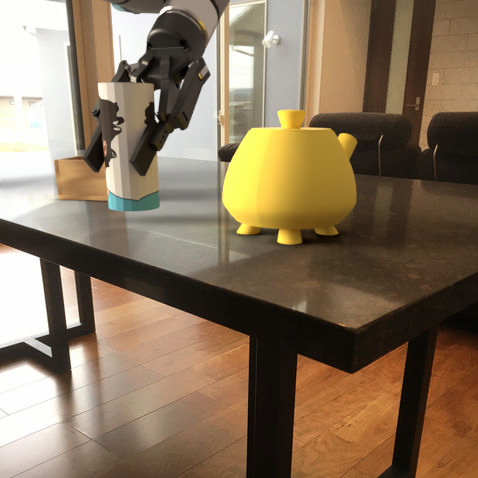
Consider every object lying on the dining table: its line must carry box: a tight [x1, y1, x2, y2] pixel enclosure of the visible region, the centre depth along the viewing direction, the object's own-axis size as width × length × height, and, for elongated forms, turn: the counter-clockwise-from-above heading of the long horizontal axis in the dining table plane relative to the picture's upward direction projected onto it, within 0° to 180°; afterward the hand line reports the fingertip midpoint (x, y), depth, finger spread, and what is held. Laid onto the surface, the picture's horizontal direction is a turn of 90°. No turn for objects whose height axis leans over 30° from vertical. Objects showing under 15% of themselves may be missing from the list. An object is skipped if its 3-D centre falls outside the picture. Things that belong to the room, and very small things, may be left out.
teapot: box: [222, 109, 358, 245], centre depth 61 cm, size 20×16×14 cm
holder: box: [53, 154, 108, 202], centre depth 89 cm, size 11×11×6 cm
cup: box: [97, 81, 161, 212], centre depth 66 cm, size 7×7×15 cm
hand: (113, 166), depth 64 cm, fingers closed on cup, 7 cm apart
